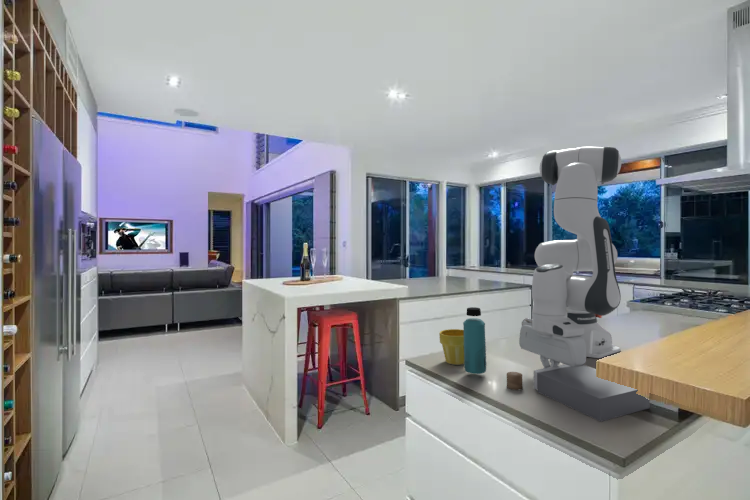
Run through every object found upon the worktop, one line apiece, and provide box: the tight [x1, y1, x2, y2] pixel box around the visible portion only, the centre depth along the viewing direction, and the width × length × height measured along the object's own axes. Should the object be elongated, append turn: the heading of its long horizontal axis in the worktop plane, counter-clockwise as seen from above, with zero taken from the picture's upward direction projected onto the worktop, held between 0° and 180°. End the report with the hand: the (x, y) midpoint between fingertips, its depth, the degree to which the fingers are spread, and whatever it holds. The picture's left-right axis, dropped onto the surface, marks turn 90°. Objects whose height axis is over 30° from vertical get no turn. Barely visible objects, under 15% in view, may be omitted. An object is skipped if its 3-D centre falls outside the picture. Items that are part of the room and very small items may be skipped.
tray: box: [533, 364, 571, 391], centre depth 96 cm, size 18×15×5 cm
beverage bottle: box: [462, 306, 488, 375], centre depth 113 cm, size 6×7×20 cm
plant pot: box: [439, 328, 464, 366], centre depth 126 cm, size 10×10×10 cm
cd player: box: [536, 364, 651, 422], centre depth 95 cm, size 18×16×5 cm
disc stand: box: [506, 371, 524, 391], centre depth 104 cm, size 4×4×4 cm
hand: (549, 373), depth 106 cm, fingers closed
